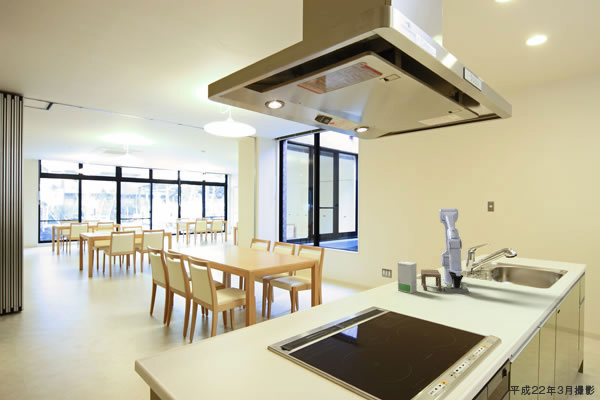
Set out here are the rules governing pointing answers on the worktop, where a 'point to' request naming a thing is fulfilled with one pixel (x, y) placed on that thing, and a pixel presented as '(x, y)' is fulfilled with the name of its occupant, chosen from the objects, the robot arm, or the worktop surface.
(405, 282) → the skincare box
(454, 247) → the robot arm
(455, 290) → the grey plastic caddy
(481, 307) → the worktop surface
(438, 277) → the walnut shelf
